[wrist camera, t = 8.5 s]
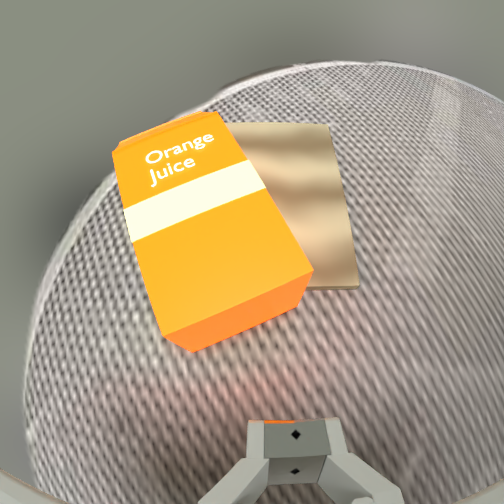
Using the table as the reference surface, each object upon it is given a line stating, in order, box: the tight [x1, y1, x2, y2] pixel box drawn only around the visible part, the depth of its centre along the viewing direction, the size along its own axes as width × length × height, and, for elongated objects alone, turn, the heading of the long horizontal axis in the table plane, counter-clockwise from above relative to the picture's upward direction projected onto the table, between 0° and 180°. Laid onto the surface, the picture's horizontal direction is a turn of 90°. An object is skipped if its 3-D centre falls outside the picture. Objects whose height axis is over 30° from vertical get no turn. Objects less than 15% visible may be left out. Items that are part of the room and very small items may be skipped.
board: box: [224, 122, 360, 290], centre depth 29 cm, size 20×14×1 cm
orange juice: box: [112, 111, 314, 353], centre depth 23 cm, size 8×9×20 cm
